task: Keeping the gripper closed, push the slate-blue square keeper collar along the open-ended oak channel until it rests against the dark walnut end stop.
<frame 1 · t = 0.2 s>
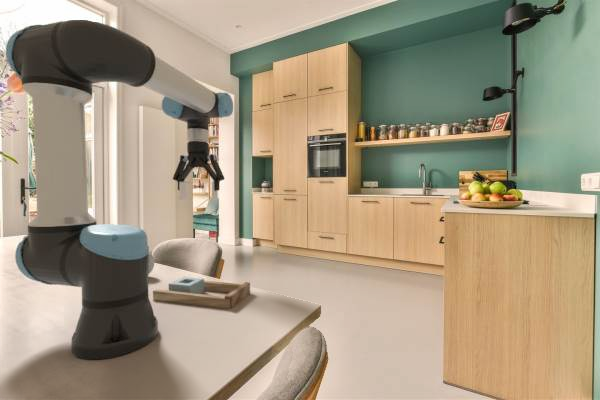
hand: (198, 199, 111), 27 cm above the table, fingers open, 13 cm apart
donut: (140, 277, 106), on the table
keeper: (186, 294, 89), resting in track
track: (201, 296, 87), on the table
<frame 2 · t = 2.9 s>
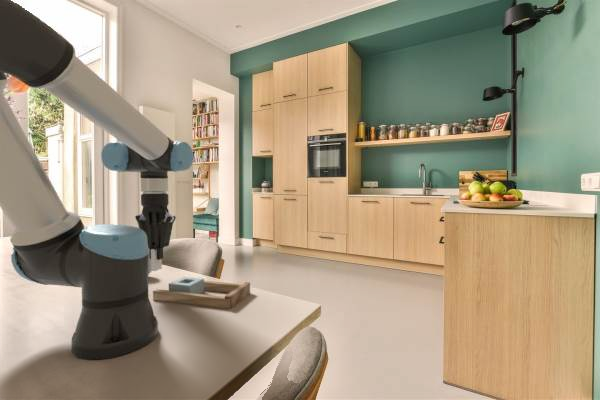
hand: (156, 269, 92), 6 cm above the table, fingers closed
nothing on the table moved.
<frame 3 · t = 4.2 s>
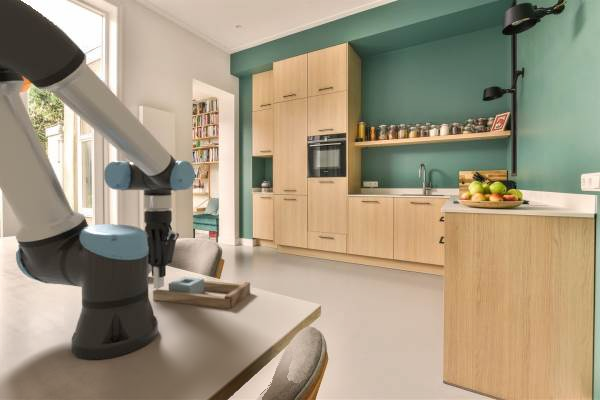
hand: (158, 287, 91), 1 cm above the table, fingers closed
nothing on the table moved.
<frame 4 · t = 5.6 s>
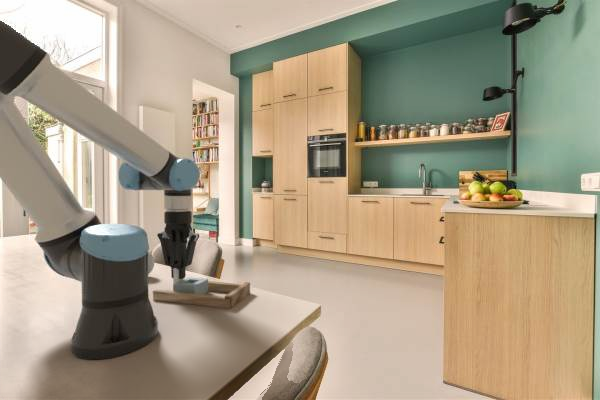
hand: (178, 289, 89), 1 cm above the table, fingers closed
keeper: (191, 294, 88), resting in track
everything else where it was.
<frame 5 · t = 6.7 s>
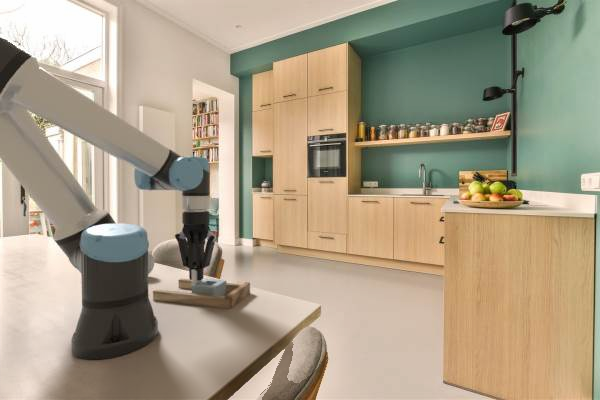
hand: (196, 290, 88), 1 cm above the table, fingers closed
keeper: (209, 296, 87), resting in track, touching gripper
everything else where it was.
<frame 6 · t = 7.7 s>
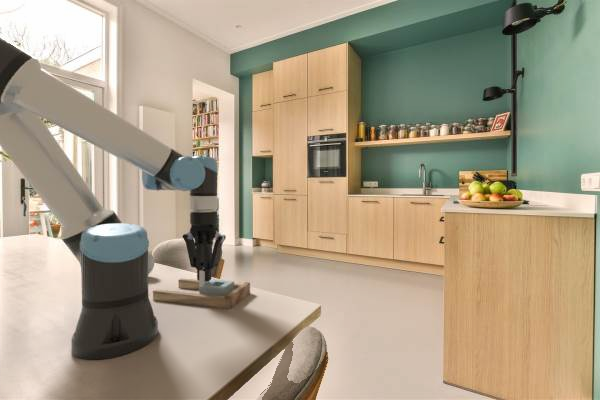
hand: (204, 291, 87), 1 cm above the table, fingers closed
keeper: (217, 297, 86), resting in track, touching gripper
everything else where it was.
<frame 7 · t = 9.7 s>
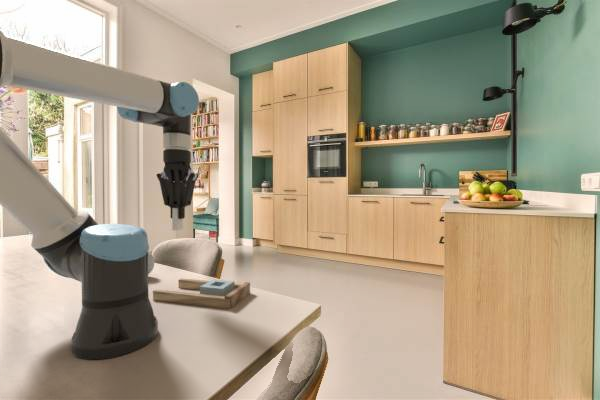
hand: (177, 229, 89), 19 cm above the table, fingers closed
keeper: (217, 297, 86), resting in track
everything else where it was.
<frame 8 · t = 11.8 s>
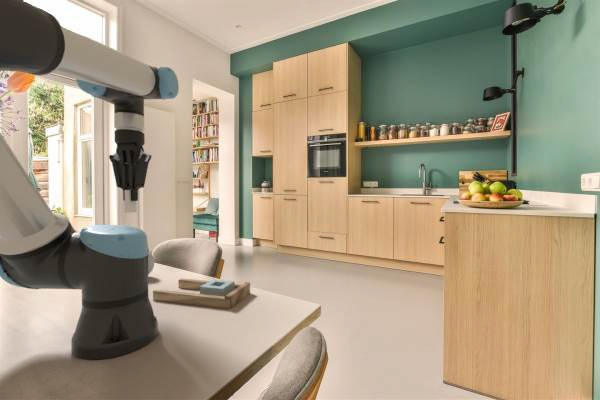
hand: (130, 212, 87), 24 cm above the table, fingers closed
nothing on the table moved.
at the end: keeper inside the target area (1.1 cm from its centre), resting in track; keeper moved 10.2 cm from its start; keeper tilted 0° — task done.
